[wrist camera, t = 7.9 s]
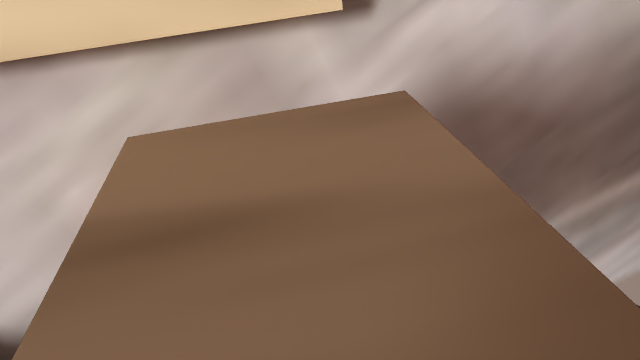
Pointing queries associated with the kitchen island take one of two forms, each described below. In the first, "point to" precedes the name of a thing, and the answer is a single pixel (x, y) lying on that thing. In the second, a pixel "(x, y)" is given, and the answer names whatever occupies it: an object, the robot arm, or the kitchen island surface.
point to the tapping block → (322, 251)
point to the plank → (129, 21)
